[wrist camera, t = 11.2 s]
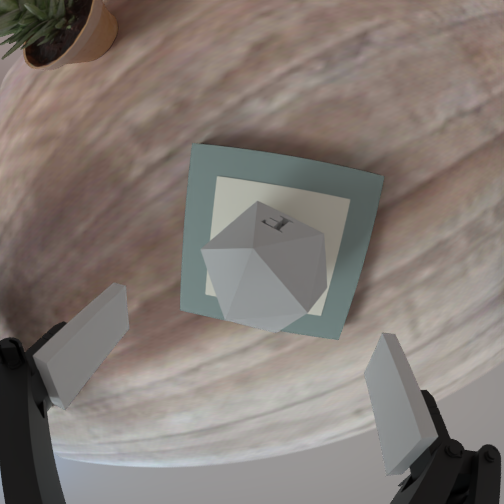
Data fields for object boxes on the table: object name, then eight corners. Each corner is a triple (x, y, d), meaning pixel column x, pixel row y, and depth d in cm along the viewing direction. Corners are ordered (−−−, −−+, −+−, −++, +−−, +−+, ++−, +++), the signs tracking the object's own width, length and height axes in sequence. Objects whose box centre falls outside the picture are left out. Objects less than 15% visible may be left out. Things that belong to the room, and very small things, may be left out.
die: (343, 263, 25) (356, 216, 16) (291, 351, 24) (274, 358, 15) (262, 221, 28) (235, 161, 19) (211, 301, 27) (157, 277, 18)
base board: (186, 300, 30) (179, 310, 29) (199, 143, 25) (191, 143, 23) (336, 328, 29) (338, 340, 27) (377, 174, 24) (384, 176, 22)
